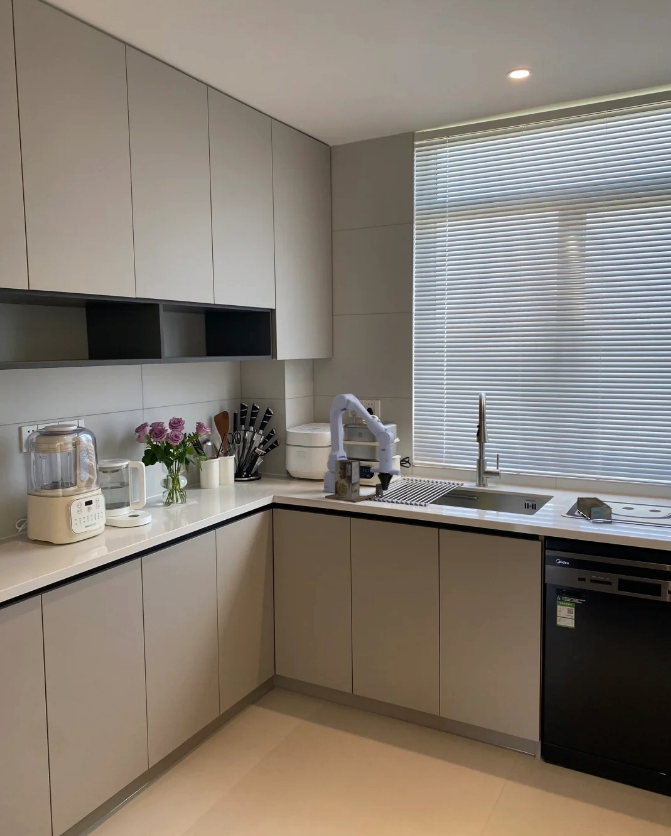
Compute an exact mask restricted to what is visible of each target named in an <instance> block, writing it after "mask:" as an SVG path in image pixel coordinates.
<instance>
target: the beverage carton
mask: <svg viewBox="0 0 671 836" xmlns="http://www.w3.org/2000/svg"><path fill="white" fill-rule="evenodd" d="M576 499H577V500H576V508H577V509H578V510H579V511H580V512H582V513H583V514H584V515H586V516H587V517H589V518H590V519H607V520H611V521H612V517H613V515H612V513H613V511H612V506H610V505H609V504H607V503H605V502H604V501H602V500H601V499H600V498H599V497H597V496H594V497H593V496H592V497H591V496H585V497H583V496H582V497H581V496H580V497H579V496H578V497H577V498H576ZM577 509H576V510H577Z"/></svg>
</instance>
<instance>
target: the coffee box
mask: <svg viewBox="0 0 671 836" xmlns="http://www.w3.org/2000/svg"><path fill="white" fill-rule="evenodd" d="M360 481H361V460H354V459H348V460H345V459H342V460H338V461H335V493H334V494H335V496H338V497H345V498H356V497H359V495H360V494H361V491H360V489H361V488H360V487H361V486H360V485H361V482H360ZM360 496H361V495H360Z"/></svg>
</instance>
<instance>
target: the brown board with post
mask: <svg viewBox="0 0 671 836" xmlns="http://www.w3.org/2000/svg"><path fill="white" fill-rule="evenodd" d="M383 494H384V491H383V490H382V485H381V482H380V483H379V482H378V483H376V484H375V493H371V494H368V495H359V497H356V498H345V497H338V496H335V493H332V494H328V495H324V498H327V499H331V500H337V501H338V500H339V501H344V502H351V503H358V502H363V501H366V499H367V500H370V499H369V498H371V499H373V498H372V497H375V496H379V495H383ZM375 498H376V497H375Z"/></svg>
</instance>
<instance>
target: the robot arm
mask: <svg viewBox="0 0 671 836" xmlns="http://www.w3.org/2000/svg"><path fill="white" fill-rule="evenodd" d="M347 410H348V411H352V412H353V411H354V412H355V413H356V414H357V416H359V417H360V418H361V419H362V420H363V421H364V422H365V423H366V427H367V429H368V430H369V431H370V432H371V434H373V435H374V436H375V437H376V440H377V443H378V445H379V448H378V449H379V450H378V451H379V452H378V454H379V455H378V467H374V466H373V467H370V469H369V471H370V473H378V474H377V477H378V479H379V481H380V483H381V485H382V490H383V492H385V491H388V489H389V486H390V483H391V480H392V479H393V477H394V476H397V477H399V476H402V470H398V469H394V468H393V449H394V448H393V447H394V445H393V444H394V442H395V439H396V436H395V433H393V432H394V431H393V430H389V428H388V427H386V426H384V424H383V423H382V421H381V419H379V418H377V417H373V416H372V415H371V414H370V412H368V411H367V409H366V408H365V407H364V406H363V405H362V403H361V402H360V400H359V399H358V398H357V397H356V396H355V394H353V393H343V394H342V393H340V394H339V393H338V394H337V395H336V396H335V397H333V399H332V404H331V406H330V409H329V429H330V446H331V447H330V452H329V454H328V460H327V463H326V466H327V469H328V471H325V473H324V476H323V489H322V491H323V492H327V493H328V492H329V493H332V494H335V461H338V460H342V459H345V460H349V459H348V458H347V453H346V451H345V450H344V435H343V434H344V431H343V414H344V413H345V412H346V411H347Z"/></svg>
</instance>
